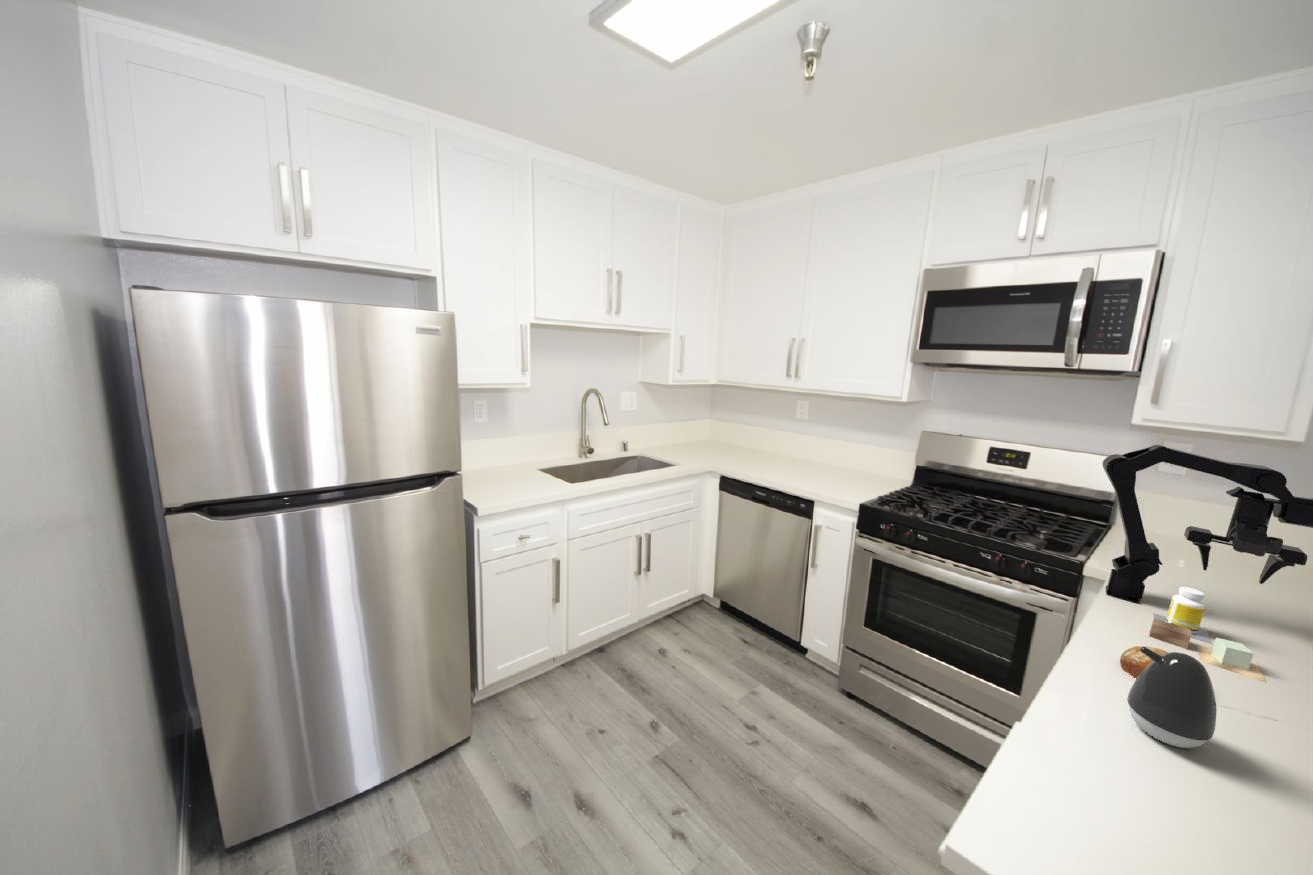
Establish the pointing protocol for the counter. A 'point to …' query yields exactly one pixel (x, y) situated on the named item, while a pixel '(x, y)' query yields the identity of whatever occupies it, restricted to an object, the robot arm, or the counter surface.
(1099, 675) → the counter surface
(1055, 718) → the counter surface
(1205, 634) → the slate coaster
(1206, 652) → the cork coaster
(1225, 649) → the sage cube
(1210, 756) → the counter surface
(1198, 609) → the supplement bottle
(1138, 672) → the bread roll
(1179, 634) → the walnut block
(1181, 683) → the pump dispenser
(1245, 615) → the counter surface
